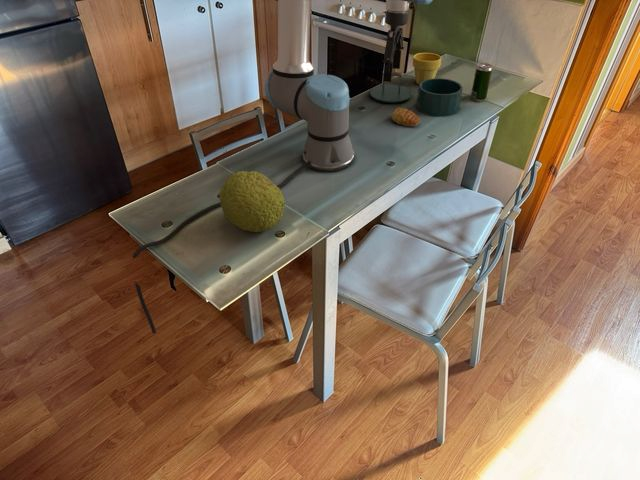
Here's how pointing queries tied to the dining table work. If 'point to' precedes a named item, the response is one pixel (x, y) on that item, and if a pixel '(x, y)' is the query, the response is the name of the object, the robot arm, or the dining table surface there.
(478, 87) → the beer can
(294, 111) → the robot arm
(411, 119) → the pastry
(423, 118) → the dining table surface
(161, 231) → the dining table surface
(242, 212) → the fruit
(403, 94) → the lid
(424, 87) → the pot
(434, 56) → the flower pot
